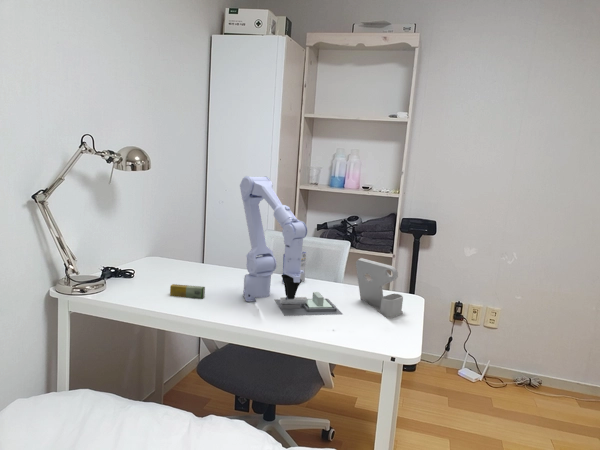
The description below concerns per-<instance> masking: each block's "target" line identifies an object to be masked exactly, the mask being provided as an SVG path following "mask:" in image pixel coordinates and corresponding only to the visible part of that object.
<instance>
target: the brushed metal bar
mask: <svg viewBox="0 0 600 450" xmlns="http://www.w3.org/2000/svg"><path fill="white" fill-rule="evenodd" d="M279 299H280V302H281V304H308V299H309V298H308V297H306V296H304V297H303V296H301V297H300V296H299V297H298V296H297V297H296V296H295V298H294V299H288V297H287V296H286V295H285V297H280V298H279Z"/></svg>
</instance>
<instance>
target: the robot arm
mask: <svg viewBox="0 0 600 450" xmlns="http://www.w3.org/2000/svg"><path fill="white" fill-rule="evenodd" d="M273 186H274V184H273V182H272V180H271V179H270V178H269V177H268V176H250V175H245V176H243V178H242V180H241V181H240V184H239V189H240V194H241V199H242V202H243V203H242V204H243V209H244V215H245V220H246V225H247V230H248V236H249V241H250V246H251V249H250V250H249V252H248V253H247V254H246V255H245V257H246V269H247V270H246V271H247V272H248V273H246V274H244V278H243V294H242V295H243V298H244V300H245V302H257V300H256V298H261V299H263V298H268V297H270V294H271V280H272V275H273V273H274V272H275V271H276V269H277V266H278V265H277V259H276V257H275V256H274V255H275V254H274V251H273V250H272V249H271V248H269V246H268V245H267V242H266V237H265V232H264V227H263V226H264V225H263V221H262V216H261V210H260V205H259V204H260V203H261V202H262V201H263V200H264V201H265V202H266V203H267V204H268V205H269V206H270V207H271V209H272V210H273V217H274V218H275V220H276V221H277V223H278V224H279V226H280V227H281V228H282V230H281V232H282V236H283V242H284V245H285V246H284V254H285V255H284V254H283V256H284V269H283V268H282V274H281V275H280V276H281V278H282V282H283V281H284V283H283V286H284V292H285V293H284V294H285V297H286V296H287V297H288V299H294V298H295V297H296V295H297V290H298V288H299V287H300V285H301V283H302V282H303V281H302V280H301V279H300V275H301V273H304V271H303V270H301V258H302V252H303V243H304V239H305V238H306V237H307V235H308V227H307V225H306V222H304V221H303V220H300V219H298V218H297V217H296V216H295V214H294V213H293V211H292V210H291V207H290V206H288V205H286V204H283V203H282V202H281V200H280V198H279V197H278V195H277V193H276V191H275V190H274V187H273ZM283 273H284V274H286V275H283Z"/></svg>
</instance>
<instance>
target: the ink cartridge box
mask: <svg viewBox="0 0 600 450" xmlns="http://www.w3.org/2000/svg"><path fill="white" fill-rule="evenodd" d="M284 255H285V253H283V257H282V262H283V263H282V270H283V269H284ZM306 260H307V252H306V251H302V258H301V270H303V271H304V273H301V275H300V279H301V280H302V281H301V282H303V281H305V277H306V264H307V263H306V262H307V261H306ZM282 275H286V274H284V273H283V272H282ZM282 283H283V284H284V281H283V280H282Z"/></svg>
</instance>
